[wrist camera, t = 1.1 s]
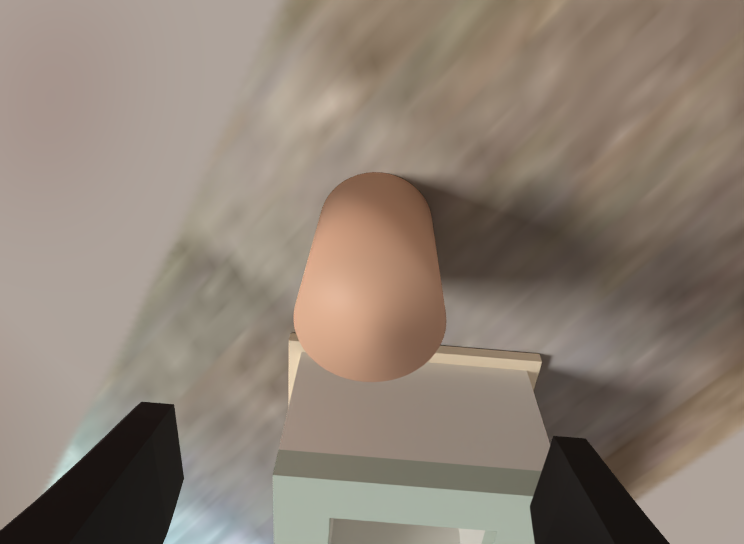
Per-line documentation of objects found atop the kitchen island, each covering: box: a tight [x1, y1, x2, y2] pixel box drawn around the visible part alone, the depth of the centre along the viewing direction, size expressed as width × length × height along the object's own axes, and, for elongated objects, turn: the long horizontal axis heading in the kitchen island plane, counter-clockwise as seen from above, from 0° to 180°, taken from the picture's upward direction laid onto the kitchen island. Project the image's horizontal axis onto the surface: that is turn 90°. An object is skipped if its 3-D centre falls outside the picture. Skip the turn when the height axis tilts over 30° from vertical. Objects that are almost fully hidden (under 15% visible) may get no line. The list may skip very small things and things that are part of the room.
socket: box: [273, 333, 550, 544], centre depth 22 cm, size 10×10×6 cm
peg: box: [294, 172, 446, 382], centre depth 17 cm, size 4×4×6 cm
